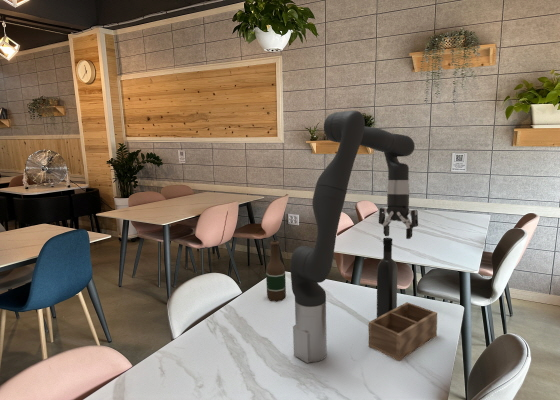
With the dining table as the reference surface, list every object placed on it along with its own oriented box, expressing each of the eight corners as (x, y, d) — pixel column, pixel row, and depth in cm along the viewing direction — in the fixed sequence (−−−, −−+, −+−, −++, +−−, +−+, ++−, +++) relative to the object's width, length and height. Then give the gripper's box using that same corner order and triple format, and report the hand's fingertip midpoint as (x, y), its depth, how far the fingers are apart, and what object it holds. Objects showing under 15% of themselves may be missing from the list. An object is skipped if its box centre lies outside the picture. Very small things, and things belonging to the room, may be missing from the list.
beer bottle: (289, 297, 158) (288, 240, 154) (276, 303, 152) (274, 245, 148) (276, 292, 163) (274, 237, 159) (263, 298, 158) (260, 242, 154)
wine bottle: (382, 315, 140) (383, 235, 135) (397, 319, 136) (399, 237, 131) (375, 321, 135) (376, 239, 130) (390, 326, 132) (392, 241, 127)
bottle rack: (399, 361, 112) (399, 335, 110) (368, 346, 120) (368, 322, 119) (436, 335, 125) (437, 312, 123) (406, 323, 133) (406, 302, 132)
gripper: (375, 192, 141) (374, 236, 142) (411, 193, 131) (411, 241, 132) (385, 191, 146) (385, 234, 147) (421, 192, 136) (421, 238, 137)
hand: (397, 237), depth 139 cm, fingers open, 8 cm apart
